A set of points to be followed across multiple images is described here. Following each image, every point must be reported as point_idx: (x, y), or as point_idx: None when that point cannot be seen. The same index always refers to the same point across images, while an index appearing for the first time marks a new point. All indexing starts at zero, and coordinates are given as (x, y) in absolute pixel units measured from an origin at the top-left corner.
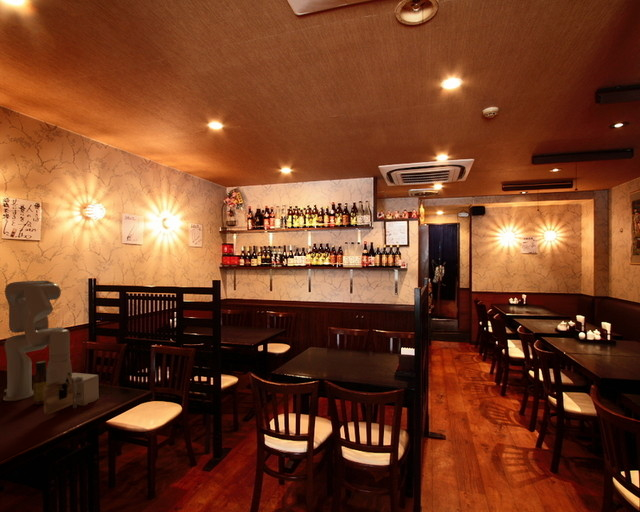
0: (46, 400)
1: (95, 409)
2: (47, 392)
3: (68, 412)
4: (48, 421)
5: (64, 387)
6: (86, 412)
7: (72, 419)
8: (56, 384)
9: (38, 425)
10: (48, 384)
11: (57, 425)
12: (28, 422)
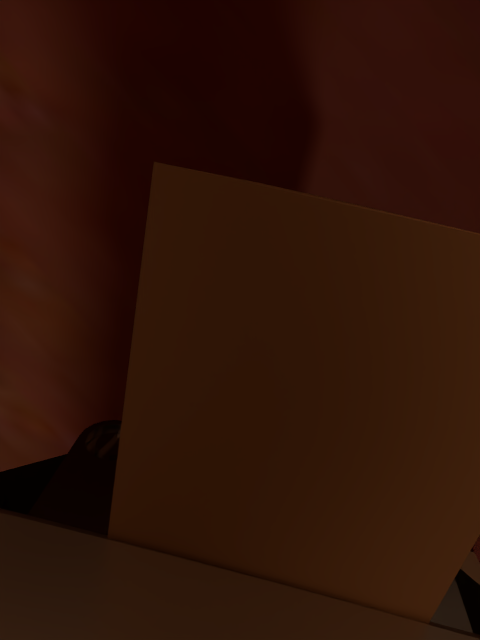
0: (314, 195)
1: (38, 406)
2: (288, 190)
3: None
4: (259, 165)
5: (21, 478)
6: (62, 354)
7: (62, 216)
8: (120, 518)
9: (293, 62)
10: (474, 504)
11: (91, 76)
12: (467, 132)
